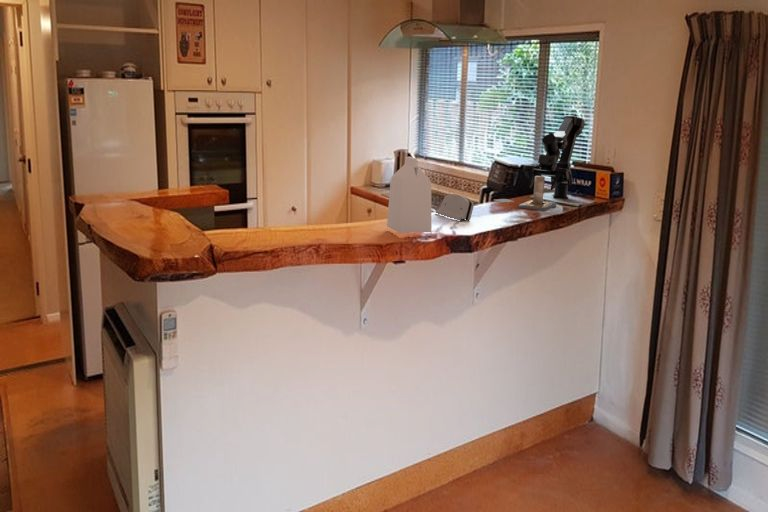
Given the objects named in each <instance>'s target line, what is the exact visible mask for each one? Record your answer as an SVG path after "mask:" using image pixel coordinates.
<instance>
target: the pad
mask: <svg viewBox="0 0 768 512" xmlns="http://www.w3.org/2000/svg"><path fill="white" fill-rule="evenodd" d="M494 201H495V202H499V203H513V202H516V201H514V200H511V199H507V198H499V199H498V198H497V199H494Z"/></svg>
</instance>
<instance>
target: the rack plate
mask: <svg viewBox="0 0 768 512" xmlns="http://www.w3.org/2000/svg"><path fill="white" fill-rule="evenodd" d="M556 206H557V202H554V201H545V200H543V204H542V205H537V204H533V199H530V200H528V201H525V202H523V203H520V204H518V209H519V208H520V209H527V210H533V211H534V210H535V211H540V212H545V211H547V210H549V209H552V208H555V207H556Z"/></svg>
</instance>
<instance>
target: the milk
mask: <svg viewBox="0 0 768 512" xmlns="http://www.w3.org/2000/svg"><path fill="white" fill-rule="evenodd" d="M389 183H390V184H389V197H388V207H387V209H388V210H387V220H386V221H387V222H386V228H387V227H389V228H391V229H393V230H395V231H397V232H399V233H410V232H431V233H432V182H431V180H430V178H429V177H428V175H426V174H425V173H424V171H423V169H422V168H421V167H419V164H418V159H417V158H415V157H413V156H405V160H404V164H403V165H402V166H401V167H400V168H399V169H398V170H397V171H395V173H393V175H392V176H391V178H390V182H389Z"/></svg>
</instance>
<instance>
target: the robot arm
mask: <svg viewBox="0 0 768 512" xmlns="http://www.w3.org/2000/svg"><path fill="white" fill-rule="evenodd" d="M585 123H586V122H585V120H584V118H583V117H577V116H576V115H571V114H570V115H569V114H567V115H564V116H563V121H562V122H561V123H560V125H559V127H558V129H557V130H556V132H548V134H546V135H544V136H543V137H542V138H541V142H542V147H543V150H544V152H546V153H545V154H539V156H538V161H537V163H538V167H539V168H535V165H531V164H525V165H524V166H523V172H524V176H525V178H527V179H528V185H529V189H531V188H532V187H533V186H534V183H535V176H537V175H542V176H550V184H551V186H550V191H553V190H554V193H553V194H552V197H553V198H554V197H555V198H554V199H569V197H568V187H569V186H572V185H573V176H572V175H573V174H572V170H571V167H570V162H571V159H572V156H573V153H574V148H575V144H576V140H577V138H578V137H579V136H580V135H581V134H582V132H583V129H585V125H586V124H585Z"/></svg>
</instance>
